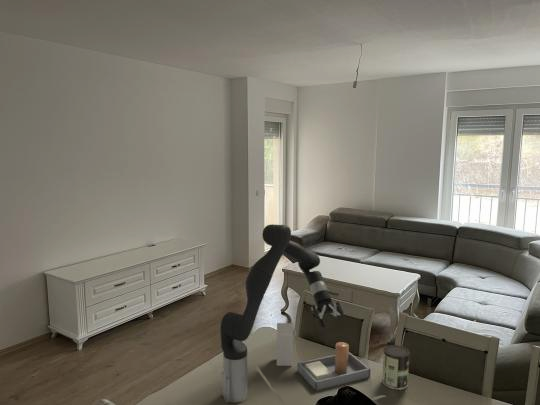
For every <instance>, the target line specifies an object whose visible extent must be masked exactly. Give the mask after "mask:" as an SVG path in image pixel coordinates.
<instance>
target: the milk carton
mask: <svg viewBox="0 0 540 405" xmlns="http://www.w3.org/2000/svg"><path fill="white" fill-rule="evenodd" d="M293 359H294V323H292V322H287V323H286V322H277V323H276V366H279V367H280V366H284V367H287V366H288V367H290V366H291V367H293V364H294V363H293V362H294V360H293Z"/></svg>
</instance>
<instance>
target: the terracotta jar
mask: <svg viewBox="0 0 540 405" xmlns="http://www.w3.org/2000/svg"><path fill="white" fill-rule="evenodd" d="M349 349H350V345H349V344H348V343H347V342H343V341H338V342H336V343H335V352H334V353H335V354H334V355H335V373H336V374H339V375H343V374H347V372H348V352H350V351H349Z"/></svg>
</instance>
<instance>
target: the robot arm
mask: <svg viewBox="0 0 540 405" xmlns="http://www.w3.org/2000/svg"><path fill="white" fill-rule="evenodd" d="M261 235H262V240H263V241H264V243H265V244H267V246H270V249H269V250H268V251H267V252H266V253H265V254H264V255H263V256H262V257H261V258H259V259H258V260H257V261H256V262H255V263H254V264H253V265H252V266H251V268H250V271H249V272H248V274H247V277H246V279H245V291H246V292H245V293H246V299H247V300H246V301H247V303H246V306H245V309H244V312H243V313H242V314H240V313H236V312H233V311H229V312H226V313H225V314H224V315H223V317H222V318H221V323H220V342H221V343H220V344H221V346H220V347H221V350H222V352H223V353H222V354H223V357H222V360H223V362H222V364H223V366H222V368H223V371H222V372H221V395H222V397H223V399H224V401H225V402H226V403H231V404H234V403H235V404H236V403H241V402H243V401H245V400H247V398H248V347H247V345H246V344H245V343H244V341H246V340H247V339H248V338H249V336H250V335H251V333H252V331H253V327H254V324H255V321H256V319H257V314H258V312H259V308H260V307H261V304H262V301H263V298H264V296H265V294H266V292H267V289H268V288H269V285H270V283H271V281H272V278H273V275H274V273H275V271H276V270H277V267H278V264H279V262H280V261H281V258H282V256H283V254H285V255H286V256H289V257H290V258H291V259H293V260H294V261H295V262H297V264H298V268H300V270H301V271H302V273H303V274H304V275H305V278H306V279H307V282H308V284H309V288H310V291H311V295H312V298H313V301H314V303H315V305H312V306H311V308H310V311H311V314H312V318H313V320H314V321H318V323H319V326H320V328H321V329H325V328H326V327H327V326H326V324H325V322H324V319H323V316H325V315H332V316H334V317H335V318H336V321H337V324H338V326H342V325H343V320H342V315H343V314H344V311H343V308H342V306H341V305H340V302H339V301H336V302H334V303H333V301H332V297H331V294H330V291H329V289H328V286H327V285H326V282H325V280H324V278H323V275H322V273H321V272H320V271H319V270H313V269H315V268H317V267H318V266H320V263H321V259H320V257H319V255H318V254H317V253H316V252H314V251H311V250H308V249H305V248H304V247H303V246H302V245H300V244H299V243H297V242H294V241H292V240H291V236H292V231H291V228H290V227H289V226H288V225H285V224H268V225H266V226H265V227H264V228H263V230H262V234H261ZM312 270H313V271H312ZM318 311H319V312H318Z"/></svg>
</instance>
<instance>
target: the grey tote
mask: <svg viewBox="0 0 540 405" xmlns="http://www.w3.org/2000/svg"><path fill="white" fill-rule="evenodd" d="M317 361H320V362H321V363H322V364H323V365H324V366H325V367H326V368H327V369H328V370H329V371H330V372H331V373H332V377H331V378H326V379H322V380H318V381H316V380H315V379H314V377H313V376H312V375H311V374H310V373H309V372H308V371H307V370H306V369H305V364H308V363H313V362H317ZM297 372H298V373H299V374H300V375H301V376H302V377H303V378H304V379H305V381H306V382H307V383H308V384H309V385H310V386H311V387H312V388H313V389H314V390H315V391H316V392H317V391H320V390H323V389H328V388H332V387H336V386H340V385H344V384H348V383H352V382H356V381H360V380H364V379H368V378H369V379H370V378H371V368H370V367H368V366H367V365H366V364H365V363H363V362H362V361H361V360H360V359H359V358H357V357H356V356H355V355H354V354H353V353H351V352H350V351H349V352H348V372H347V374H343V375H339V374H336V373H335V354H332V355H328V356H323V357H319V358H315V359H309V360H305V361H300V362H297Z"/></svg>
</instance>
